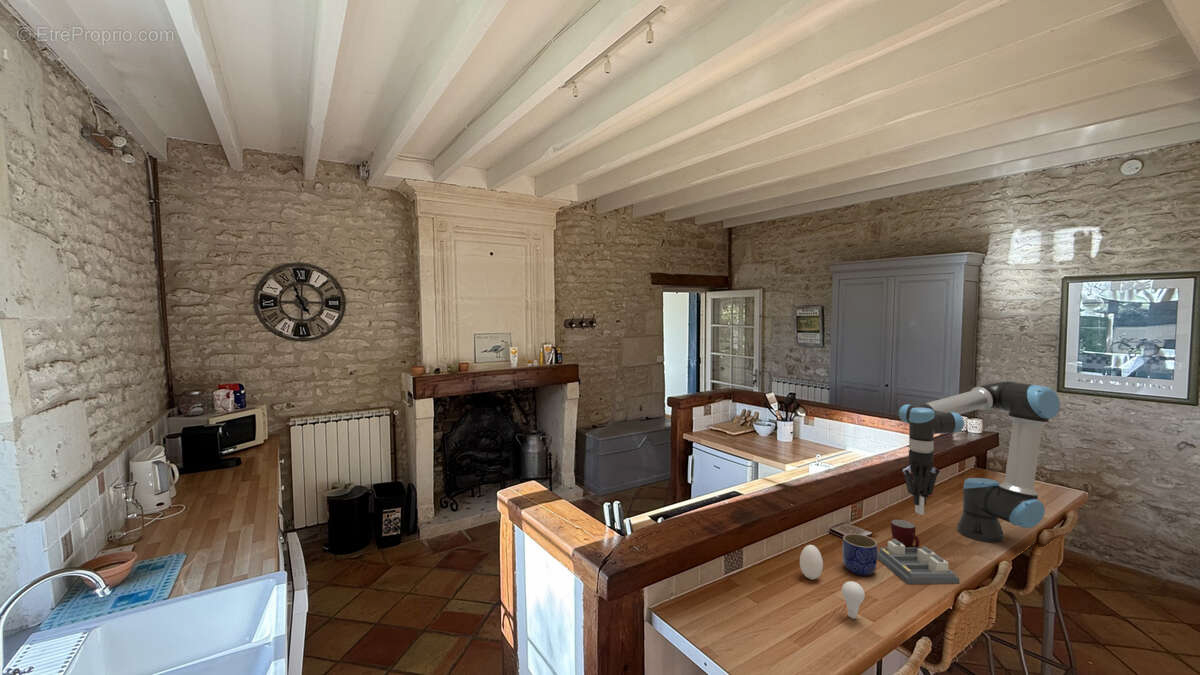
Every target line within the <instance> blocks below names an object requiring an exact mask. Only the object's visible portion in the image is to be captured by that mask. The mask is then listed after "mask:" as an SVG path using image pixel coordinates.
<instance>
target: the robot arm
mask: <svg viewBox="0 0 1200 675" xmlns="http://www.w3.org/2000/svg"><path fill="white" fill-rule="evenodd" d="M1060 407H1061V402H1060V399H1059V397H1058V394H1056V392H1055V391H1054V390H1053V389H1052V388H1049V387H1047V386H1043V385H1039V384H1030V383H1029V384H1028V383H1022V382H1021V383H1020V382H1014V381H997V382H993V383H992V382H991V383H987V384H984V385H978V386H975V387H973V388H972V389H971V390H969V391H967V392H966V391H965V392H963V393H960V394H956V395H951V396H947V397H944V398H939V399H936V400H933V401H930V402H926V403H922V404H917V405H913V404H907V403H906V404H904V405H902V406H901V407H900V408H899V410H898V417H899V419H900V420H901V421H902V422H903V423H906V424H909V425H908V426H909V428H908V430H909V432H908V434H909V436H908V437H909V438H908V448H909V449H908V460H909V462H908V464H907V467H905V468H904V467H902V468H900V469H901V471H902V473H903V476H904V480H905V485H906V490H907V492H908V494H910V495H912V496H913V500H912V501H913V505H915V506H914V512H915V513H916V514H917V515H920V516H923V515H924V516H925V506H926V505H927V498H929V496H932V495H933V492H934V488H935V484H936V481H937V476H939V473H940V472H941V471H940V469H938V468H936V467H934V464H933V462H934V448H935V447H934V446H935V445H934V443H935V442H934V440H935V435H937V434H954V433H959V432H961V431H962V430H964V428H965V421H964V418H963V416H962V414H966V413H970V412H973V411H976V410H977V411H978V410H982V411H983V410H984V411H987V410H990V409H991V410H992V409H993V410H1002V411H1003V410H1004V411H1008V418H1010V420H1011V421H1012V425H1011V433H1010V440H1009V448H1008V454H1007V461H1006V470H1005V475H1004V481H1003V482H1001V483H1000V481H998V480H995V479H991V478H984V477H968V478H966V479H965V480H964V482H963V489H962V490H963V496H962V497H963V498H962V503H963V504H962V508H963V509H962V514H961V516H960V518H959V521H958V522H957V526H956V528H957V532H958V533H959V534H961V535H963V536H965V537H967V538H970V539H973V540H975V541H980V542H981V541H982V542H985V543H986V542H987V543H1001V542H1003V541H1004V531H1003V529H1002V525H1001V523H1000V520H999V519H1001V520H1003V521H1006V522H1007V523H1010V524H1011V525H1013V526H1017V527H1020V528H1024V529H1030V528H1034V527H1035V526H1037V525H1038V524H1040V523H1041V521H1042V520H1043V518H1044V516H1045V512H1046V507H1045V505H1044V503H1043V502H1041V501H1040V500H1039V493H1038V492H1037V490H1036V489H1035V488H1034V487H1035V481H1036V473H1037V466H1038V459H1039V453H1040V445H1041V439H1042V430H1043V427H1044V426H1045V425H1047V424H1049V420H1050V419H1053V418H1056V417H1057V414H1058V413H1059V412H1060Z"/></svg>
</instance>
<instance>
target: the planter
mask: <svg viewBox="0 0 1200 675" xmlns="http://www.w3.org/2000/svg"><path fill="white" fill-rule="evenodd" d="M877 552H878V542H877V541H876V540H875V539H873V538H872V537H870V536H867V535H864V534H860V533H846V534H844V535H843V537H842V561H843V563H844V566H845V567H846V569H847V570H848V571H849V572H851V573H853V574H856V575H858V576H870V575H872V574H873V573H874V572H875V571H876V568H877V563H878V559H877Z"/></svg>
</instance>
